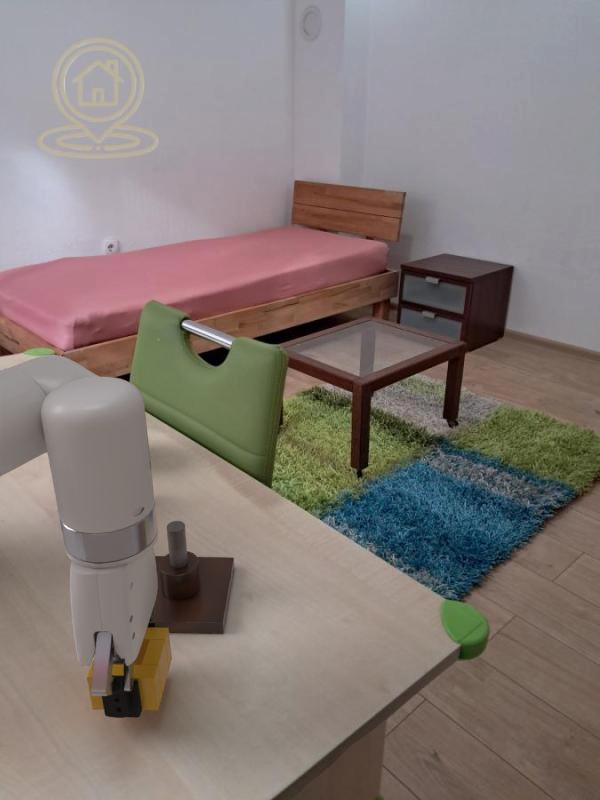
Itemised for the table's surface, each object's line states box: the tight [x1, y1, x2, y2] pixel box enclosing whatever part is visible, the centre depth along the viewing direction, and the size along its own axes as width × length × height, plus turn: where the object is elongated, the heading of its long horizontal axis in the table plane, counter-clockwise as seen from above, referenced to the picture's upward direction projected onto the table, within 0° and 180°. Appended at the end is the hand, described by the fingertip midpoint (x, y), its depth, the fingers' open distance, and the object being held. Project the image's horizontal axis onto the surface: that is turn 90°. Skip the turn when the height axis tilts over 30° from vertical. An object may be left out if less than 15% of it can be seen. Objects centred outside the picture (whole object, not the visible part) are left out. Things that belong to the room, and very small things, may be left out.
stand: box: [149, 520, 235, 634], centre depth 71 cm, size 11×11×10 cm
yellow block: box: [86, 627, 173, 711], centre depth 59 cm, size 6×6×4 cm
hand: (133, 682), depth 60 cm, fingers closed on yellow block, 6 cm apart
